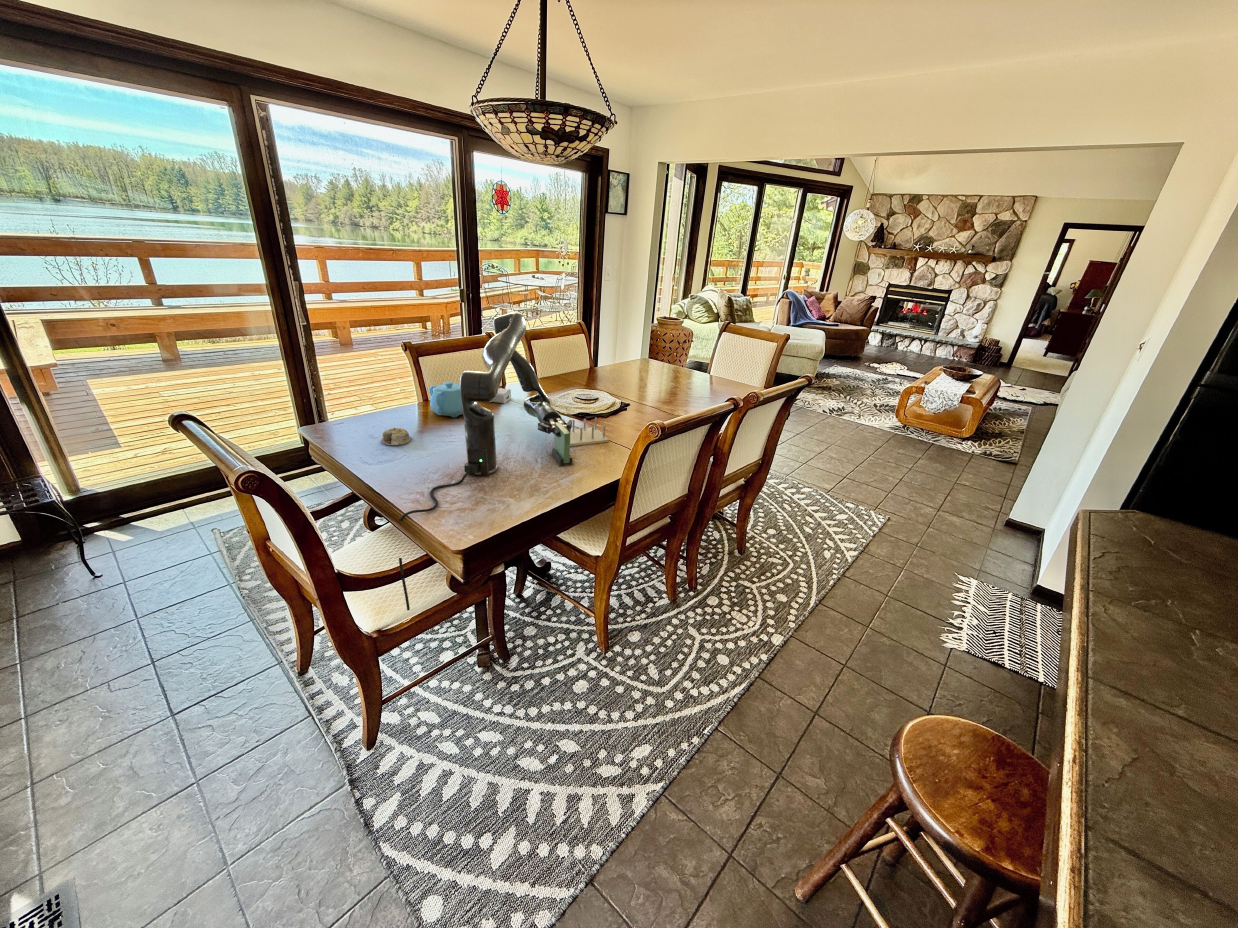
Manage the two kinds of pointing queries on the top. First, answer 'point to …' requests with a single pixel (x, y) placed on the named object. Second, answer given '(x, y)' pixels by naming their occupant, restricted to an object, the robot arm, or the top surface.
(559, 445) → the lid
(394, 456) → the top surface
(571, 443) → the dish rack
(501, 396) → the charger
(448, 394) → the decorative pot
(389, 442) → the cake
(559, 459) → the pair of dark bars
